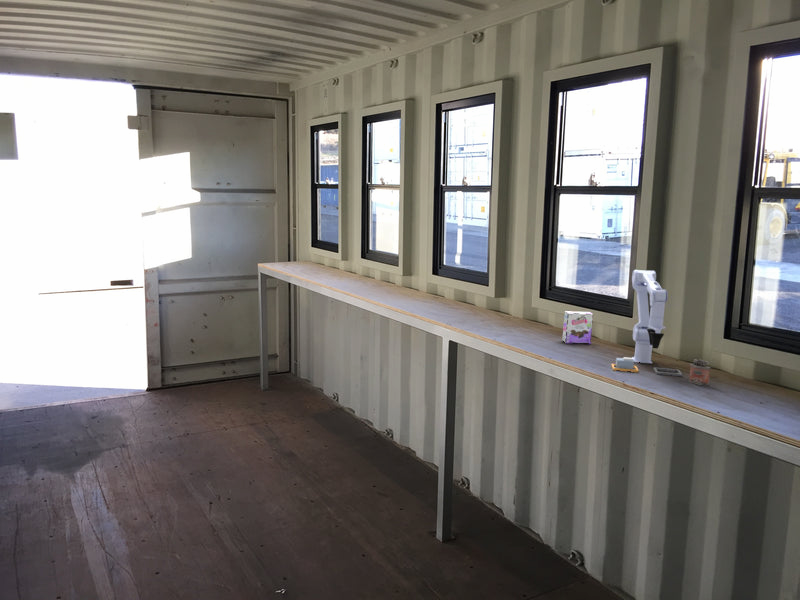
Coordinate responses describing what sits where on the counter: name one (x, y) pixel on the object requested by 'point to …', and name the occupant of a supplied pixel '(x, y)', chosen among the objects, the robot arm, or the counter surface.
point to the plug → (624, 363)
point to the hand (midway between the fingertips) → (653, 346)
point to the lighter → (699, 372)
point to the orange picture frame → (624, 369)
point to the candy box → (577, 327)
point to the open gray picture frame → (667, 370)
